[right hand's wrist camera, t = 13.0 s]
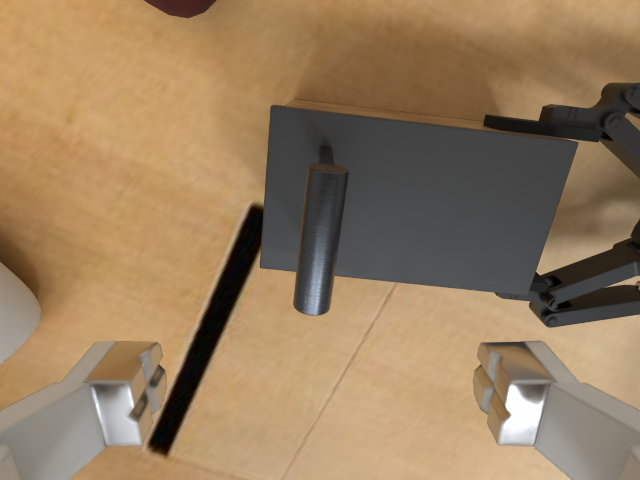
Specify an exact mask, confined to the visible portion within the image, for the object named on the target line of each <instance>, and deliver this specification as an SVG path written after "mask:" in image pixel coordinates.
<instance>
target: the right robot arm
mask: <svg viewBox="0 0 640 480" xmlns="http://www.w3.org/2000/svg"><path fill="white" fill-rule="evenodd" d="M162 357H163V353H162V349H161V345H160V344H159V343H158V342H134V341H119V342H118V341H99V342H96V343H94V344H93V345H92V347H91V348H90V349H89V350H88V351H87V352H86V353H85V355H84V356H83V357H82V358H81V359H80V360H79V362H78V363H77V364H76V365H75V366H74V367H73V368H72V370H71V371H70V372H69V373H68V374H67V375H66V377H65V378H64V379H63V380H62V381H61V382H60V383H53V384H51V385H49V386H47V387H45V388H43V389H41V390H39V391H37V392H35V393H33V394H31V395H29V396H27V397H25V398H23V399H21V400H19V401H17V402H15V403H13V404H11V405H9V406H8V407H6V408H4V409H2V410H0V480H69V479H70V478H71V477H72V476H73V475H75V474H76V473H77V472H78V471H79V470H80V469H82V468H83V467H84V466H85V465H86V464H88V463H89V462H90V461H91V460H92V459H93V458H95V457H96V456H97V455H98V454H99V453H100V452H102V451H103V450H104V449H105V446H135V445H143V442H144V440H145V438H146V436H147V434H148V432H149V430H150V428H151V426H152V424H153V420H152V414H154V413H155V412H156V411H158V410H159V409H160V408H161V406H162V403H163V401H164V398H165V393H166V389H167V378H166V371H165V370H164V369H163V368H162V367H161V366H160V365H159V363H160V361H161V359H162ZM477 357H478V359H479V361H480V363H481V365H480V366H479V367H478V368H477V369H476V370H475V371H474V379H473V386H474V394H475V398H476V401H477V403H478V406H479V408H480V409H481V410H482V411H484V412H485V413H486V414H488V420H487V424H488V426H489V428H490V430H491V432H492V434H493V436H494V438H495V440H496V442H497V444H498V445H504V446H535V449H536V450H537V451H539V452H540V453H541V454H542V455H543V456H544V457H546V458H547V459H548V460H549V461H550V462H551V463H553V464H554V465H555V466H556V467H557V468H559V469H560V470H561V471H562V472H563V473H564V474H566V475H567V476H568V477H569V478H570V479H571V480H640V410H638V409H636V408H634V407H632V406H630V405H628V404H627V403H625V402H623V401H621V400H619V399H617V398H615V397H613V396H611V395H609V394H607V393H605V392H603V391H601V390H599V389H597V388H595V387H593V386H591V385H589V384H587V383H580V382H579V381H578V380H577V379H576V378H575V377H574V375H573V374H572V373H571V372H570V371H569V370H568V368H567V367H566V366H565V365H564V364H563V363H562V362H561V360H560V359H559V358H558V357H557V356H556V355H555V353H554V352H553V351H552V350H551V349H550V348H549V347H548V345H547V344H546V343H544V342H542V341H521V342H481V344H480V346H479V348H478V353H477Z"/></svg>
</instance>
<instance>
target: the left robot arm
mask: <svg viewBox="0 0 640 480" xmlns="http://www.w3.org/2000/svg"><path fill="white" fill-rule="evenodd" d="M601 97H602V98H601V99H600V100H599V102H598V103H597V104H596V105H595V106H593V107H591V108H579V107H571V106H563V105H553V104H550V105H547V106H543V108H542V111H541V114H540V118H539V121H534V120H526V119H518V118H510V117H501V116H493V115H485V119H484V123H483V126H486V127H490V128H493V129H497V130H503V131H511V132H519V133H528V134H536V135H545V136H553V137H559V138H566V139H575V140H583V141H591V142H599V140H600V141H601V142H602V143H603V144H604V145H605V146H606V147H607V148H608V149H609V150H610V151H611V152H612V153H613V154H614V155H616V156H617V157H618V158H619V159H620V160H621V161H622V162H623V163H624V164H625V165H626V166H627V167H628V168H629V169H630V170H631V171H633V172H634V173H635V174H636V175H637V176H638V177H639V178H640V131H639V130H638V129H637V128H636V127H635V126H634V125H633V124H632V123H631V122H630V121H629V120H628V119H627V118H626V117H624V116H625V114H626V113H629V114H631V115H633V116H635V117H637V118H639V119H640V83H609V84H607V85H606V86H605V87H604V88H603V90H602V92H601ZM630 237H632V238H630V239H627V240H624V241H621V242H619V243H616V244H614V245H613V249H611V250H608V251H605V252H603V253H600V254H597V255H594V256H592V257H589V258H586V259H584V260H581V261H578V262H576V263H573V264H570V265H567V266H565V267H562V268H559V269H557V270H554V271H551V272H549V273H546V274H543V275H539V274H538V273H537V272H535V275H534V278H533V281H532V284H531V287H530V290H529V293H528V295H527V296H525V295H515V294H506V293H496V292H494V293H495V294H496V295H497V296H499V297H501V298H503V299H513V300H523V301H531V302H530V304H529V308H530V309H531V310H532V311H533V313H534V314H535V315H536V316H537V317H538V318H539V319H540V320H541V321H542V322H543V323H544V324H545V326H547V327H558V326H565V325H571V324H578V323H585V322H591V321H598V320H605V319H612V318H618V317H625V316H632V315H638V314H640V281H638V282H636V285H619V286H612V287H607V286H609V285H612V284H615V283H618V282H621V281H623V280H626V279H629V278H632V277H635V276H640V220H639V221H638V223H637V224H636V225H635V227H634V229H633V231H632V234H631V236H630ZM604 287H606V288H604Z"/></svg>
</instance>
